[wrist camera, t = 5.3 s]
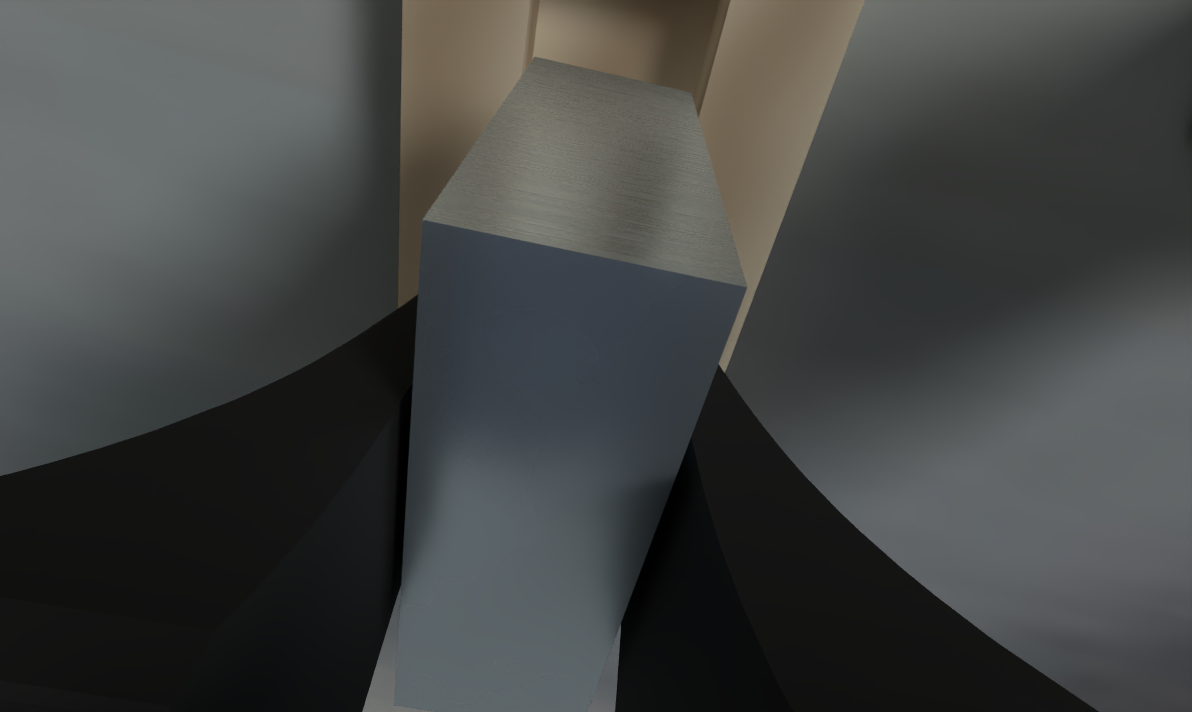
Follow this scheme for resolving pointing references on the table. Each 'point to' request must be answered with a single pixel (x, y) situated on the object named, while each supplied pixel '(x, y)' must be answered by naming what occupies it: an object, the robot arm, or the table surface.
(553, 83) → the brushed gray metal block
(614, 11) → the rack
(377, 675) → the table surface
